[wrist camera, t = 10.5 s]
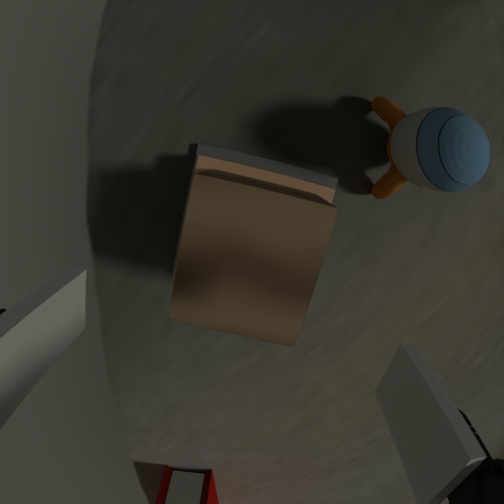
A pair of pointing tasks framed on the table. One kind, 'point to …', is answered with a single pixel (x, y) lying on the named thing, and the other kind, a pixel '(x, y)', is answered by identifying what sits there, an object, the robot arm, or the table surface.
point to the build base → (252, 161)
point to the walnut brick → (249, 256)
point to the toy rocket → (431, 149)
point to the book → (187, 488)
